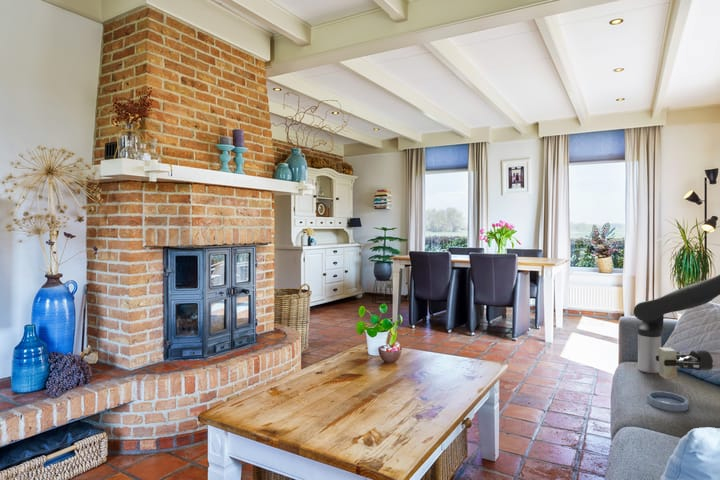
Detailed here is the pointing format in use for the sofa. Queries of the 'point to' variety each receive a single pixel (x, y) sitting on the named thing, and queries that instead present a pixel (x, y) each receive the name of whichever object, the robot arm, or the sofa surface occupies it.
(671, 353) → the box
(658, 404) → the dish
